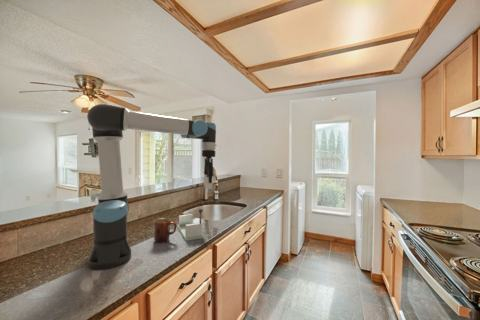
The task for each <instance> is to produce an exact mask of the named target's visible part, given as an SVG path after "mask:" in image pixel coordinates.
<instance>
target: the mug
mask: <svg viewBox="0 0 480 320" xmlns="http://www.w3.org/2000/svg"><path fill="white" fill-rule="evenodd" d="M152 224H153V227H154V228H153V229H154V230H153V240H154V242H155V243H159V244H161V243H167V241H168V240H169V239H170V236H171V235H173V234H175V233H176V231H177V229H178V228H177V225H178V224H177V223H176V222H174V221H172V219H171V218H169V217H168V218H167V217H161V218H160V217H159V218H156V219H154V220H153V221H152ZM170 225H174V228H173V231H171V230H170V229H171V228H170V227H171V226H170Z"/></svg>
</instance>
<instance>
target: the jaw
mask: <svg viewBox="0 0 480 320" xmlns="http://www.w3.org/2000/svg"><path fill="white" fill-rule="evenodd" d="M187 224H194V214H192V213H189V214H183V215H182V214H181V215H178V225H179V226H180V225H187Z"/></svg>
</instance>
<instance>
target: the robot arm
mask: <svg viewBox="0 0 480 320" xmlns="http://www.w3.org/2000/svg"><path fill="white" fill-rule="evenodd" d="M86 118H87V122H88V123H89V125H90V126H91V128H92V138H93V140H95V141H96V142H97V151H98V164H99V178H100V187H101V189H100V190H101V194H100V196H98V198H97V202H98V204H96V205H95V206H94V207H93V211H92V217H93V221H92V222H93V238H92V239H93V241H92V242H93V244H92V247H91V250H90V252H89V254H88V257H87V267H88V268H89V269H91V270H96V271H97V270H106V269H112V268H116V267H118V266H121V265H123V264H125V263H127V262H128V261H129V260H131V258H132V249H131V246H130V243H129V241H128V216H129V212H130V205H129V203H128V193H126V192H125V191H124V185H123V184H124V183H123V173H122V172H123V171H122V170H123V169H122V160H121V159H122V157H121V145H120V144H121V143H120V141H122V140H123V138H124V137H123V136H124V134H123V131H124V132H125V131H126V130H136V131H144V132H145V131H147V132H153V133H154V132H156V133H164V134H173V135H180V136H181V138H183V139H187V140H188V139H193V140H194V139H195V140H202V143H201V149H202V152H201V156H202V157H203V158H204V168H203V174H204V175H203V178H204V179H203V186H205V187H206V189H207V190H213V182H214V181H213V177H214V165H213V164H214V161H213V160H214V158H215V157H216V147H217V144H216V142H217V141H216V140H217V139H216V138H217V137H216V135H217V126H216V123H214V122H210V121H209V122H208V121H206V122H205V120H202V119H197V120H196V119H195V120H194V119H186V118H179V117H173V116H166V115H159V114H154V113H153V114H152V113H146V112H145V113H144V112H138V111H133V110H129V109H128V108H126V107H122V106H117V105H110V104H104V103H100V104H95V105H93V106H92V107H91V108H89V111H88V112H87V117H86Z"/></svg>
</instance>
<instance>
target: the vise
mask: <svg viewBox="0 0 480 320" xmlns="http://www.w3.org/2000/svg"><path fill="white" fill-rule="evenodd" d="M203 212H204V211H203V209H202V208H199V209H198V213H199V222H196V223H193V224H187V225H180V226H179V224H176V225H177V228H176V229H178V232H179V233H180V235H181V236H182V238H183V239H184V242H188V241H192V240H198V239H199V240H200V239H203V238H204V234H203V223H202V213H203Z"/></svg>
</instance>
